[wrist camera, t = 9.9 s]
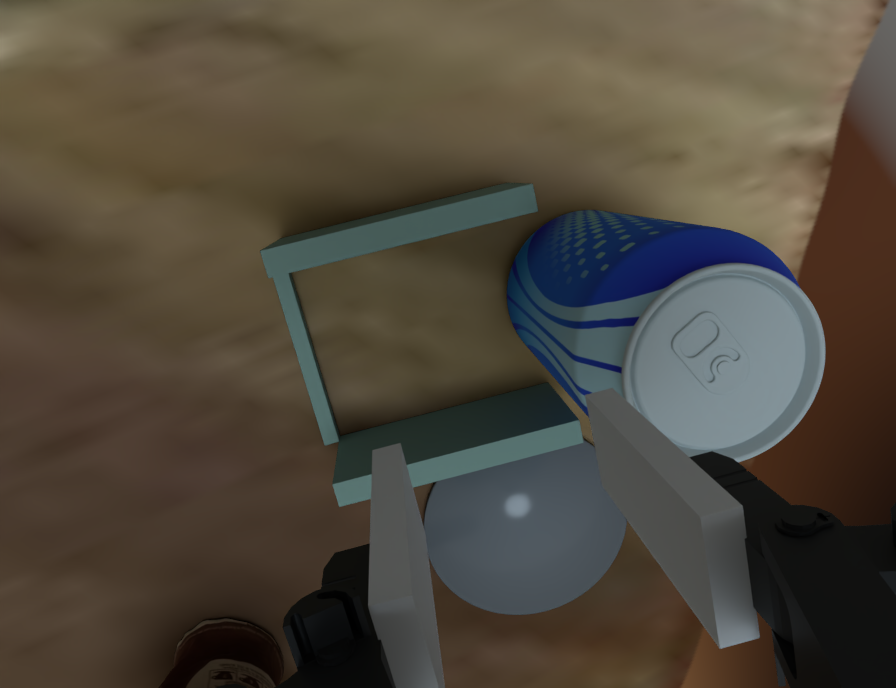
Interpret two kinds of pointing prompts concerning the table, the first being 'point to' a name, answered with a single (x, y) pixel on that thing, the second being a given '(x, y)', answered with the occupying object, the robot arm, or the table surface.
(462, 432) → the rack
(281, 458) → the table surface
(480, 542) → the flat grey disc
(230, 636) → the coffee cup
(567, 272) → the beer can
